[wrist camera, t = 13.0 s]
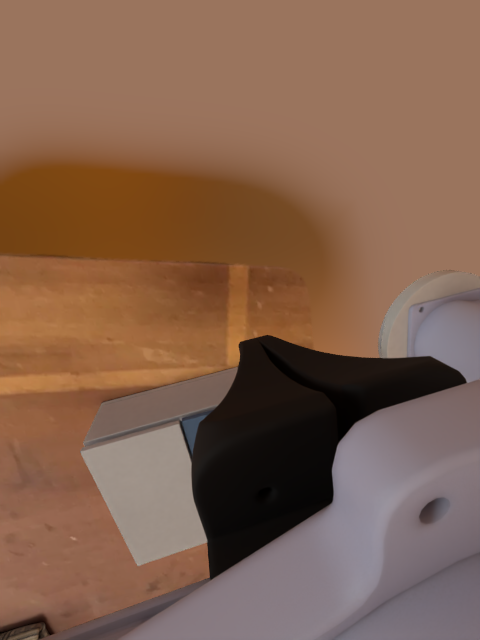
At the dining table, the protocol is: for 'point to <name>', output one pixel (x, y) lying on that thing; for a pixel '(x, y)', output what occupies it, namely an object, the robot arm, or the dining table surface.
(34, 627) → the dish towel
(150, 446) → the carton
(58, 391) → the dining table surface
